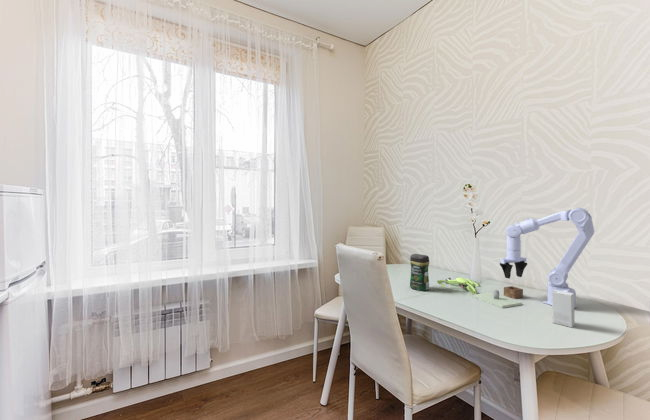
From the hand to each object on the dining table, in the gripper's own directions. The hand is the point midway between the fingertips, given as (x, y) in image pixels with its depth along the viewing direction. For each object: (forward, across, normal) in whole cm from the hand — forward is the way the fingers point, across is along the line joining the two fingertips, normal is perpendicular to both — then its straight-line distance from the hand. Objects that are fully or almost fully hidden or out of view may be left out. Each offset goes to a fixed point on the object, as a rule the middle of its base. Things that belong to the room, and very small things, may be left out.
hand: (513, 277), depth 142 cm
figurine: (+10, +15, -19) cm, 26 cm away
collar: (+9, 0, 0) cm, 9 cm away
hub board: (+9, +13, +2) cm, 16 cm away
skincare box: (+10, +12, +30) cm, 34 cm away
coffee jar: (+10, +35, -26) cm, 45 cm away
